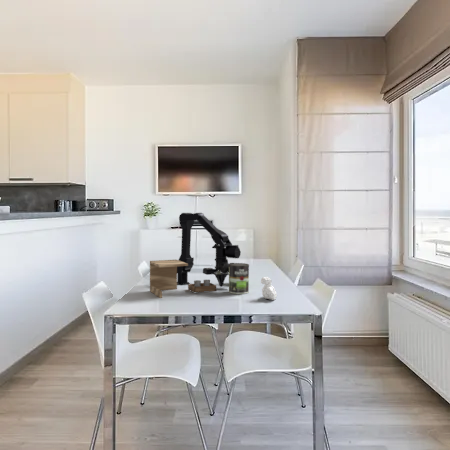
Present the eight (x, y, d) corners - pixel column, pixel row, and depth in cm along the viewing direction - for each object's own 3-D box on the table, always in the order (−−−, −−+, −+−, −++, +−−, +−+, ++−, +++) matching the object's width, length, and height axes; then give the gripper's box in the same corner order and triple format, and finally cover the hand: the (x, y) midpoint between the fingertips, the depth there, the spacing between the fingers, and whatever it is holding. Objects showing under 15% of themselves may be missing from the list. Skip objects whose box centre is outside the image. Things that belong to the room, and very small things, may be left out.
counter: (149, 291, 200) (149, 260, 199) (176, 288, 206) (176, 259, 205) (159, 298, 183) (159, 265, 183) (188, 295, 189) (188, 263, 189)
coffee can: (251, 293, 194) (251, 265, 194) (231, 294, 192) (231, 266, 191) (245, 289, 204) (245, 262, 204) (226, 290, 202) (226, 263, 201)
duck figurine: (267, 300, 189) (253, 281, 189) (280, 290, 189) (266, 272, 189) (269, 306, 177) (254, 286, 177) (282, 296, 177) (267, 276, 177)
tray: (188, 289, 204) (188, 279, 204) (209, 287, 209) (209, 278, 209) (194, 292, 196) (194, 282, 196) (216, 290, 201) (216, 281, 201)
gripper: (210, 259, 195) (210, 290, 196) (244, 257, 203) (243, 287, 204) (202, 257, 205) (202, 286, 206) (234, 255, 213) (234, 284, 214)
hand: (221, 286), depth 207 cm, fingers closed
